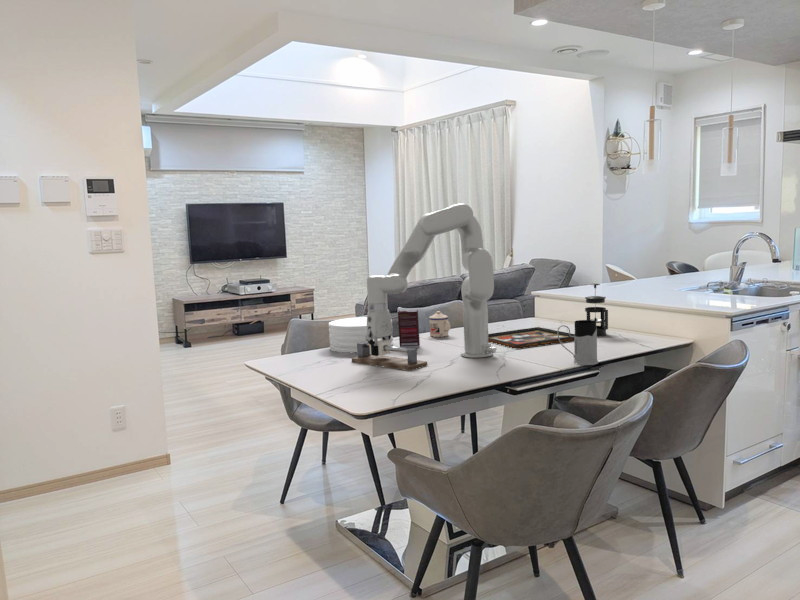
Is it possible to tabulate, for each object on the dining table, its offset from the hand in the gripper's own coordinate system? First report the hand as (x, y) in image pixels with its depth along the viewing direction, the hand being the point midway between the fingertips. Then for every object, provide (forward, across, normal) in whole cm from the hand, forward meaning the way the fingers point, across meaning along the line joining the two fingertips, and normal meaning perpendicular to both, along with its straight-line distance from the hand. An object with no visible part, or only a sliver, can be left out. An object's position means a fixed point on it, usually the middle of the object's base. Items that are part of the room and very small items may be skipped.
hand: (380, 353), depth 244 cm
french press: (+4, +94, -45) cm, 104 cm away
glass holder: (+4, +37, -64) cm, 74 cm away
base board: (+3, 0, -4) cm, 5 cm away
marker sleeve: (0, 0, 0) cm, 0 cm away
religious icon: (+4, +70, -24) cm, 74 cm away
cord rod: (+2, 0, -4) cm, 4 cm away
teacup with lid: (+4, +59, +16) cm, 61 cm away
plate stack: (+4, +21, +31) cm, 37 cm away
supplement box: (+4, +30, +11) cm, 32 cm away
